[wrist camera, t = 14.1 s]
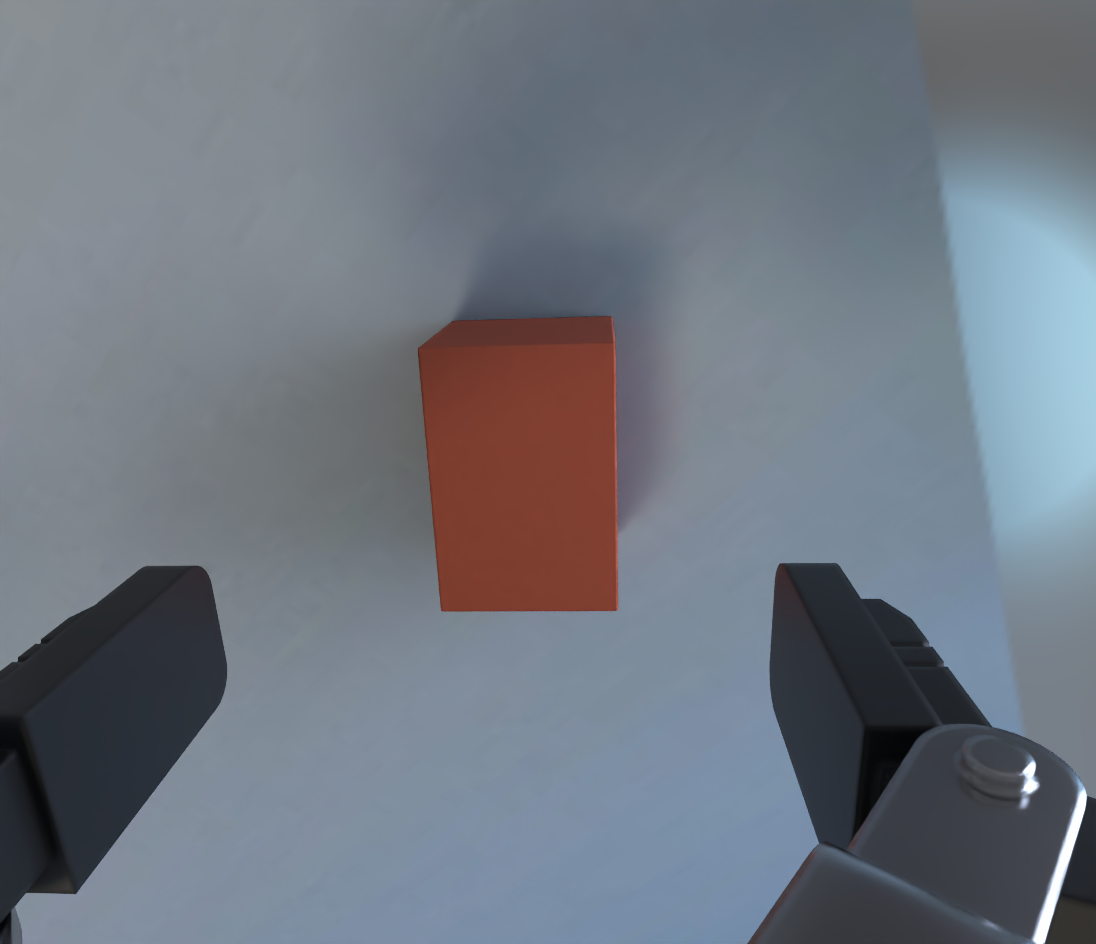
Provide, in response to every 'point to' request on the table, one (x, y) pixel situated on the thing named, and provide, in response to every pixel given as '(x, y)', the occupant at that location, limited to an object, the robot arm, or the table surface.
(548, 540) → the terracotta brick block
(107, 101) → the table surface
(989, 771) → the robot arm
